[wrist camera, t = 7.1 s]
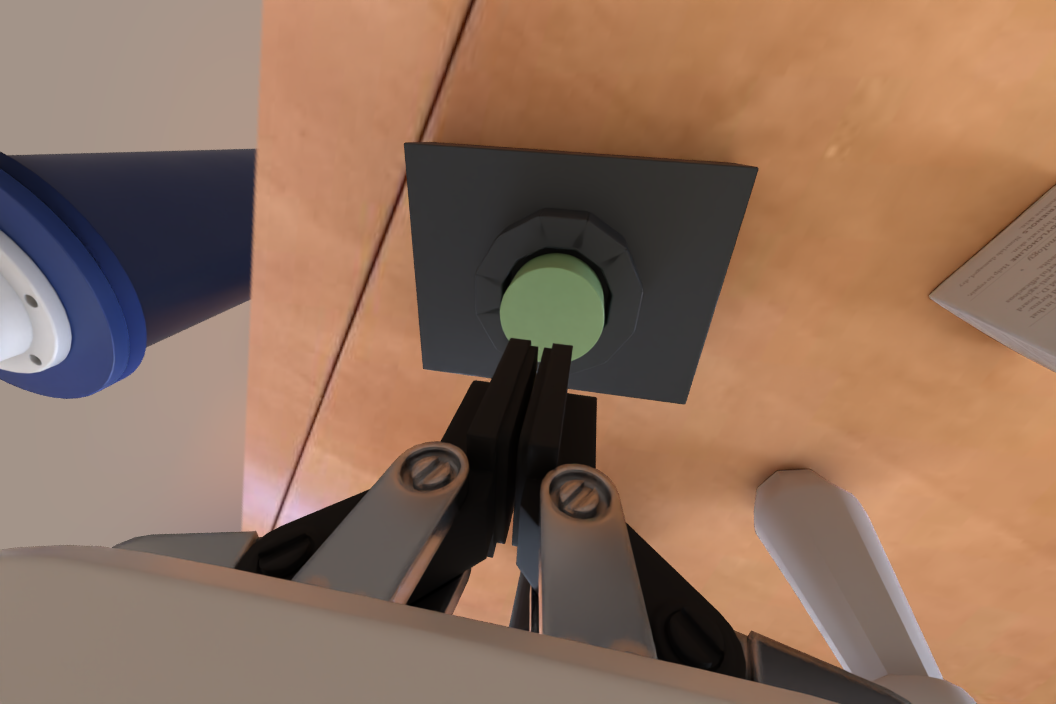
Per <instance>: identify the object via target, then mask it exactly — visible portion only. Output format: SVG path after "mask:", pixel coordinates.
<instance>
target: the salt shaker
mask: <svg viewBox="0 0 1056 704" xmlns="http://www.w3.org/2000/svg"><path fill="white" fill-rule="evenodd" d="M754 527H755V532H756V534H757V536H758V537H759V539H760V540H761V542H762V543H763V545H764V546H765V548H766V549H767V551H768V552H769V554H770V555H771V557H772V558H773V560H774V561H775V563H776V564H777V566H778V567H779V569H780V570H781V572H782V573H783V575H784V576H785V578H786V579H787V581H788V582H789V584H790V585H791V587H792V588H793V590H794V592H795V593H796V595H797V596H798V598H799V599H800V601H801V603H802V604H803V606H804V607H805V609H806V610H807V612H808V614H809V615H810V617H811V618H812V620H813V621H814V623H815V625H816V626H817V628H818V629H819V631H820V632H821V634H822V636H823V637H824V639H825V640H826V642H827V643H828V645H829V647H830V648H831V650H832V651H833V653H834V655H835V656H836V658H837V659H838V661H839V662H840V664H841V666H842V667H843V669H844V670H846V671H848V672H850V673H853V674H855V675H857V676H860V677H862V678H864V679H867V680H869V681H872V682H874V683H876V684H879V685H881V686H883V687H886V688H888V689H889V690H891V691H893V692H895V693H896V694H898V695H900V696H902V697H903V698H905V699H907V700H908V701H910V702H911V703H912V704H976V702H975V701H974V699H973V698H972V697H971V696H970V695H969V694H968V693H967V692H966V691H965V690H964V689H963V688H961V687H959V686H957V685H954V684H952V683H950V682H948V681H946V680H944V679H943V677H942V675H941V673H940V671H939V669H938V666H937V664H936V662H935V660H934V658H933V656H932V653H931V651H930V649H929V647H928V645H927V642H926V640H925V638H924V636H923V634H922V632H921V629H920V627H919V625H918V623H917V621H916V619H915V616H914V614H913V612H912V610H911V608H910V606H909V603H908V601H907V599H906V597H905V595H904V593H903V590H902V588H901V586H900V584H899V582H898V579H897V577H896V575H895V573H894V571H893V569H892V566H891V564H890V562H889V560H888V558H887V556H886V553H885V551H884V549H883V547H882V545H881V543H880V540H879V538H878V536H877V534H876V532H875V530H874V527H873V525H872V523H871V521H870V519H869V516H868V514H867V513H866V511H865V510H864V508H863V507H862V505H861V504H860V502H859V501H858V500H857V499H856V498H855V497H854V496H853V494H852V493H850V492H848V491H846V490H844V489H842V488H840V487H838V486H836V485H834V484H832V483H830V482H829V481H827V480H826V479H824V478H823V477H821V476H820V475H818V474H817V473H815V472H814V471H812V470H810V469H802V470H784V471H776V472H775V473H774V474H773V475H772V476H770V477H769V478H768V479H767V480H766V481H765V482H763V483H762V484H761V485H760V486H759V487H758V488H757V491H756V498H755V506H754Z"/></svg>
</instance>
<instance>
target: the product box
mask: <svg viewBox="0 0 1056 704" xmlns="http://www.w3.org/2000/svg"><path fill="white" fill-rule="evenodd" d="M929 298H930V299H932V300H933V301H935V302H936V303H938V304H939V305H940V306H942V307H943V308H945V309H946V310H948V311H950V312H951V313H953V314H954V315H956V316H958V317H959V318H961V319H962V320H964V321H966V322H967V323H969V324H970V325H972V326H973V327H975V328H977V329H978V330H980V331H981V332H983V333H985V334H986V335H988V336H990V337H991V338H993V339H995V340H997V341H998V342H1000V343H1002V344H1003V345H1005V346H1007V347H1009V348H1010V349H1012V350H1014V351H1016V352H1017V353H1019V354H1021V355H1023V356H1025V357H1027V358H1028V359H1030V360H1032V361H1034V362H1036V363H1038V364H1040V365H1042V366H1044V367H1046V368H1048V369H1050V370H1052V371H1054V372H1056V185H1055V186H1054V187H1053V188H1051V189H1050V190H1049V191H1048V192H1046V193H1045V194H1044V195H1043V196H1042V197H1041V198H1040V199H1039V200H1038V201H1036V202H1035V203H1034V204H1033V205H1032V206H1031V207H1030V208H1028V209H1027V210H1026V211H1025V212H1024V213H1023V214H1022V215H1021V216H1020V217H1018V218H1017V219H1016V220H1015V221H1014V222H1013V223H1011V224H1010V225H1009V226H1008V227H1007V228H1006V229H1005V230H1004V231H1002V232H1001V233H1000V234H999V235H998V236H997V237H996V238H994V239H993V240H992V241H991V242H990V243H988V244H987V245H986V246H985V247H984V248H983V249H982V250H981V251H979V252H978V253H977V254H976V255H975V256H973V257H972V258H971V259H970V260H969V261H967V262H966V263H965V264H964V265H963V266H962V267H960V268H959V269H958V270H957V271H956V272H955V273H953V274H952V275H951V276H950V277H949V278H947V279H946V280H945V281H944V282H943V283H942V284H940V285H939V286H938V287H937V288H936V289H935V290H934V291H933V292H932V293H931V294H930V295H929Z"/></svg>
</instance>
